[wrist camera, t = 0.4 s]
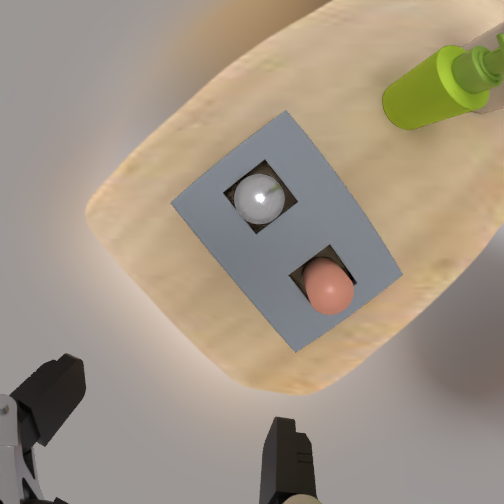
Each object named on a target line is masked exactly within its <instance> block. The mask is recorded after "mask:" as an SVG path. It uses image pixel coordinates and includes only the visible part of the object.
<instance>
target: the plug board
mask: <svg viewBox="0 0 504 504" xmlns="http://www.w3.org/2000/svg"><path fill="white" fill-rule="evenodd" d="M264 160H265V161H266V162H267V163H268V164H269V166H270V167H271V168H272V169H273V170H274V172H275V173H276V174H277V176H278V177H279V178H280V179H281V181H282V182H283V183H284V184H285V186H286V187H287V188H288V189H289V191H290V192H291V193H292V195H293V196H294V197H295V199H296V200H297V201H298V202H296V203H295V204H294V205H292V206H291V207H290V208H288V209H287V210H286V211H285V212H283V213H282V214H281V215H279V216H278V217H277V218H275V219H274V220H273V221H272V222H270V223H269V224H268V225H266V226H265V227H264V228H263V229H261V230H260V231H259V232H257V233H256V232H255V231H254V230H253V229H252V227H251V226H250V225H249V224H248V222H247V221H246V220H245V219H243V218H242V217H241V216H240V215H239V213H238V212H237V210H236V207H235V206H234V205H233V204H232V202H231V201H230V200H229V199H228V197H227V196H226V195H225V194H224V192H225V191H226V190H227V189H229V188H230V187H231V186H232V185H234V184H235V183H236V182H237V181H239V180H240V179H241V178H242V177H244V176H245V175H246V174H247V173H249V172H250V171H251V170H252V169H254V168H255V167H256V166H258V165H259V164H260V163H261V162H263V161H264ZM171 204H172V206H173V207H174V208H175V209H176V211H177V212H178V213H179V214H180V216H181V217H182V218H183V219H184V221H185V222H186V223H187V224H188V226H189V227H190V228H191V229H192V231H193V232H194V233H195V234H196V236H197V237H198V238H199V239H200V241H201V242H202V243H203V244H204V245H205V247H206V248H207V249H208V250H209V252H210V253H211V254H212V255H213V256H214V258H215V259H216V260H217V261H218V262H219V264H220V265H221V266H222V267H223V268H224V270H225V271H226V272H227V273H228V274H229V276H230V277H231V278H232V279H233V280H234V282H235V283H236V284H237V285H238V286H239V288H240V289H241V290H242V291H243V292H244V294H245V295H246V296H247V297H248V298H249V299H250V301H251V302H252V303H253V304H254V305H255V307H256V308H257V309H258V310H259V311H260V312H261V314H262V315H263V316H264V317H265V318H266V319H267V321H268V322H269V323H270V324H271V325H272V326H273V328H274V329H275V330H276V331H277V332H278V333H279V334H280V336H281V337H282V338H283V339H284V340H285V341H286V342H287V344H288V345H289V346H290V347H291V348H292V349H293V350H294V352H295V353H296V352H297V351H299V350H301V349H302V348H304V347H305V346H307V345H308V344H310V343H311V342H313V341H314V340H316V339H317V338H319V337H320V336H322V335H323V334H324V333H326V332H327V331H329V330H330V329H332V328H333V327H335V326H336V325H337V324H339V323H340V322H342V321H343V320H344V319H346V318H347V317H349V316H350V315H351V314H353V313H354V312H355V311H357V310H358V309H359V308H361V307H362V306H363V305H365V304H366V303H367V302H369V301H370V300H371V299H373V298H374V297H375V296H377V295H378V294H379V293H381V292H382V291H383V290H384V289H386V288H387V287H388V286H389V285H391V284H392V283H393V282H394V281H396V280H397V279H398V278H399V277H401V276H402V275H403V274H402V272H401V270H400V269H399V267H398V265H397V264H396V262H395V260H394V259H393V257H392V255H391V254H390V252H389V250H388V249H387V247H386V246H385V244H384V242H383V241H382V239H381V238H380V236H379V235H378V233H377V231H376V230H375V228H374V227H373V225H372V224H371V222H370V221H369V219H368V218H367V216H366V215H365V213H364V212H363V210H362V209H361V207H360V206H359V204H358V203H357V202H356V200H355V199H354V197H353V196H352V194H351V193H350V192H349V190H348V189H347V187H346V186H345V185H344V183H343V182H342V180H341V179H340V178H339V176H338V175H337V174H336V172H335V171H334V170H333V168H332V167H331V166H330V164H329V163H328V162H327V160H326V159H325V158H324V156H323V155H322V154H321V152H320V151H319V150H318V149H317V147H316V146H315V145H314V143H313V142H312V141H311V140H310V138H309V137H308V136H307V135H306V133H305V132H304V131H303V130H302V129H301V127H300V126H299V125H298V124H297V123H296V121H295V120H294V119H293V118H292V117H291V115H290V114H289V113H288V112H287V111H286V110H285V111H284V112H283V113H281V114H280V115H279V116H277V117H276V118H274V119H273V120H272V121H270V122H269V123H268V124H266V125H265V126H264V127H262V128H261V129H260V130H258V131H257V132H256V133H254V134H253V135H252V136H250V137H249V138H248V139H247V140H245V141H244V142H243V143H241V144H240V145H239V146H238V147H236V148H235V149H234V150H233V151H231V152H230V153H229V154H227V155H226V156H225V157H224V158H223V159H221V160H220V161H219V162H218V163H216V164H215V165H214V166H213V167H212V168H210V169H209V170H208V171H207V172H205V173H204V174H203V175H202V176H201V177H200V178H198V179H197V180H196V181H195V182H194V183H192V184H191V185H190V186H189V187H188V188H187V189H186V190H184V191H183V192H182V193H181V194H180V195H179V196H178V197H176V198H175V199H174V200H173V201H172V202H171ZM329 244H330V245H331V247H332V248H333V250H334V251H335V252H336V254H337V255H338V257H339V258H340V259H341V261H342V262H343V264H344V265H345V267H346V268H347V269H348V271H349V272H350V274H351V275H352V277H353V278H354V279H355V280H353V281H352V283H353V287H354V296H353V299H352V301H351V303H350V304H349V306H348V307H347V308H346V309H345V310H343V311H342V312H340V313H337V314H334V315H325V314H322V313H319V312H318V311H316V310H315V309H314V308H313V307H312V305H311V303H310V301H309V299H308V298H307V297H306V296H305V294H304V293H303V292H302V291H301V289H300V288H299V287H298V285H297V284H296V283H295V282H294V280H293V279H292V278H291V277H290V275H289V274H291V273H292V272H293V271H295V270H296V269H298V268H299V267H300V266H302V265H303V264H304V263H306V262H307V261H308V260H310V259H311V258H312V257H314V256H315V255H316V254H318V253H319V252H320V251H321V250H323V249H324V248H325V247H327V246H328V245H329Z"/></svg>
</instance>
